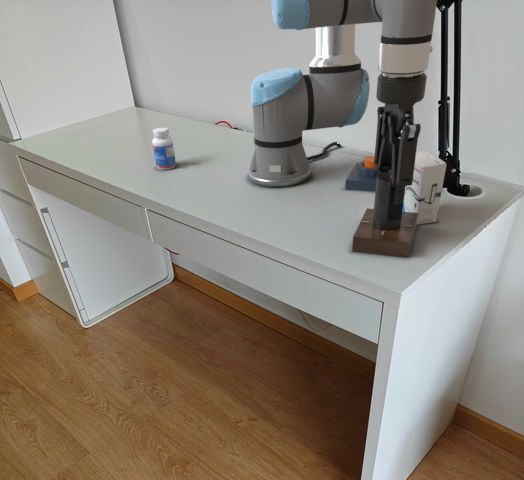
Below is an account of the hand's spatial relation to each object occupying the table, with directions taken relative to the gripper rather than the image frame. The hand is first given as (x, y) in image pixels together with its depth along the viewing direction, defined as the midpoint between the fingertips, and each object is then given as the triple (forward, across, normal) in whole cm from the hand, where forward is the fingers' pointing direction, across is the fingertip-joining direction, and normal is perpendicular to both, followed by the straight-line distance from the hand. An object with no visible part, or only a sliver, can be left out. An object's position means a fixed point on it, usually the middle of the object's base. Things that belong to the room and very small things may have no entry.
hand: (387, 212), depth 92 cm
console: (+5, 0, 0) cm, 5 cm away
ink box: (+5, +8, -10) cm, 14 cm away
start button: (+2, +29, -7) cm, 30 cm away
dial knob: (+2, 0, 0) cm, 2 cm away
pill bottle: (+5, +56, +42) cm, 70 cm away
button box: (+5, +29, -7) cm, 31 cm away
